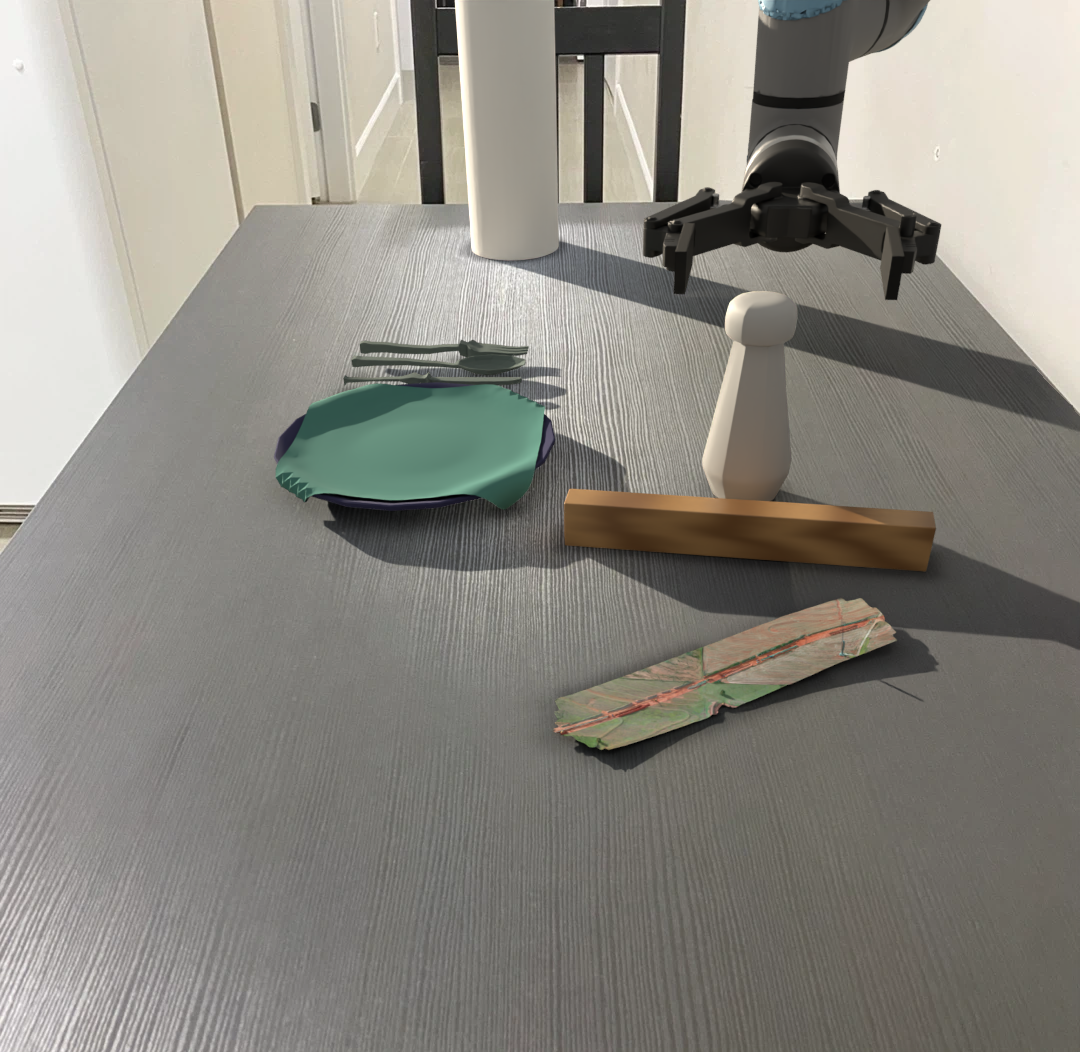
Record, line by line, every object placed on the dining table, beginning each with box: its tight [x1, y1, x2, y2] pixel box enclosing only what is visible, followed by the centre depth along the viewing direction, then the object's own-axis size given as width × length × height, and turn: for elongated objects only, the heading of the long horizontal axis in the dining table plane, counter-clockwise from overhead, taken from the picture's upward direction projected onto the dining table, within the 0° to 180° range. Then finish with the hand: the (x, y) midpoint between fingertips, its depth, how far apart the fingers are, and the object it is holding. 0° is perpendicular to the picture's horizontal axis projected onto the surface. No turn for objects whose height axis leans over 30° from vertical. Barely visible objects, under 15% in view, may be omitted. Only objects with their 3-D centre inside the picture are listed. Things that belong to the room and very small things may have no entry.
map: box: [552, 597, 898, 751], centre depth 58 cm, size 5×20×1 cm, turn 117°
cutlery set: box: [273, 339, 556, 512], centre depth 81 cm, size 20×30×2 cm, turn 176°
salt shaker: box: [701, 290, 799, 501], centre depth 69 cm, size 6×6×13 cm
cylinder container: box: [454, 0, 560, 261], centre depth 108 cm, size 9×9×30 cm
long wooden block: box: [563, 488, 937, 572], centre depth 67 cm, size 22×2×3 cm, turn 79°
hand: (785, 276), depth 70 cm, fingers open, 13 cm apart
